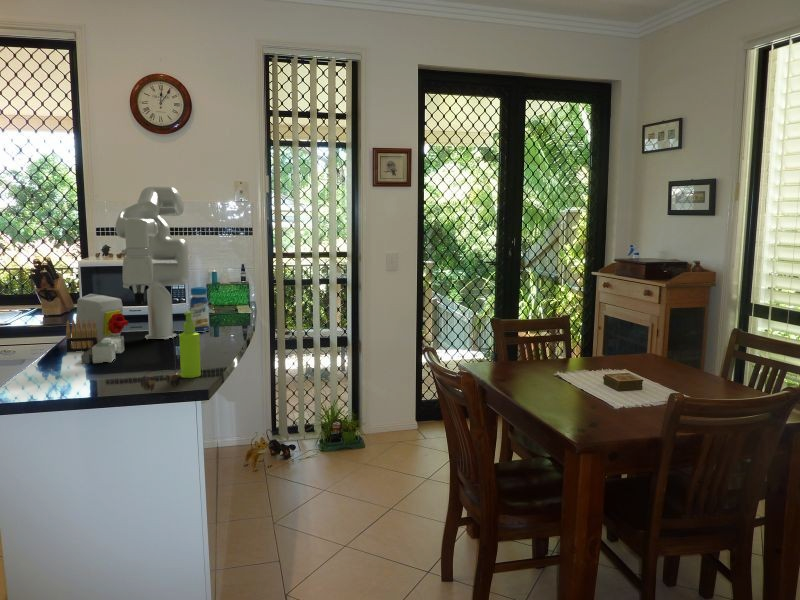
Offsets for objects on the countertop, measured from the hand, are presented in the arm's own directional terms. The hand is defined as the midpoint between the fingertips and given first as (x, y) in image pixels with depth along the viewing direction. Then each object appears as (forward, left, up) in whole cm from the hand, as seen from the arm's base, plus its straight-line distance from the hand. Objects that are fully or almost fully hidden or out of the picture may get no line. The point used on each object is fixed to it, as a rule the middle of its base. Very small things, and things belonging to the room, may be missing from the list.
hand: (139, 303), depth 224 cm
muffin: (0, -12, -19) cm, 22 cm away
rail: (0, -13, -19) cm, 23 cm away
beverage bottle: (-51, +17, -19) cm, 57 cm away
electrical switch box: (-32, -19, -19) cm, 42 cm away
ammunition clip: (-14, -23, -19) cm, 33 cm away
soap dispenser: (+39, +20, -19) cm, 48 cm away
